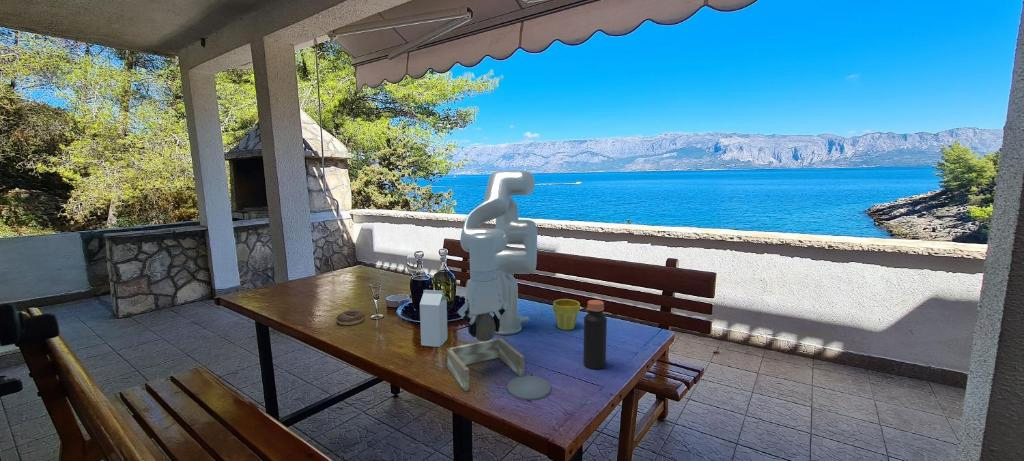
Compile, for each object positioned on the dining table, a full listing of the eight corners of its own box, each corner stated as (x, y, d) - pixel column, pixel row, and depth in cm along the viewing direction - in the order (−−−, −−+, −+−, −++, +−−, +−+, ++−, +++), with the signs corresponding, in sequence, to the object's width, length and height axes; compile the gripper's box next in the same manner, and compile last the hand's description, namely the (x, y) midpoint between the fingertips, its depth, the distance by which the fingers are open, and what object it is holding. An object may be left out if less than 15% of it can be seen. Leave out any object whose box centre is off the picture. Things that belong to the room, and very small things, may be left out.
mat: (536, 374, 120) (536, 372, 120) (559, 392, 109) (559, 390, 109) (500, 383, 114) (500, 381, 114) (520, 404, 104) (520, 402, 104)
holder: (500, 355, 133) (500, 337, 132) (524, 376, 119) (524, 356, 118) (446, 367, 125) (446, 348, 124) (465, 391, 110) (464, 370, 110)
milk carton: (440, 347, 139) (438, 293, 137) (420, 345, 141) (419, 292, 138) (447, 339, 146) (446, 288, 144) (429, 338, 148) (427, 287, 145)
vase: (473, 334, 125) (472, 307, 123) (495, 333, 125) (495, 306, 124) (472, 344, 118) (472, 315, 116) (496, 343, 118) (496, 314, 117)
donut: (355, 316, 173) (354, 307, 172) (370, 320, 166) (369, 311, 166) (331, 323, 164) (330, 313, 164) (346, 328, 158) (345, 318, 157)
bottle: (601, 371, 121) (602, 306, 119) (579, 366, 125) (580, 303, 122) (608, 363, 127) (610, 301, 124) (588, 358, 131) (589, 297, 128)
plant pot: (585, 328, 157) (585, 303, 156) (565, 333, 151) (565, 308, 150) (567, 320, 165) (567, 297, 164) (547, 325, 160) (547, 301, 158)
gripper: (504, 268, 126) (504, 323, 128) (450, 276, 118) (452, 334, 121) (515, 274, 119) (515, 331, 122) (459, 282, 111) (461, 343, 114)
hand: (484, 332), depth 121 cm, fingers closed on vase, 6 cm apart
